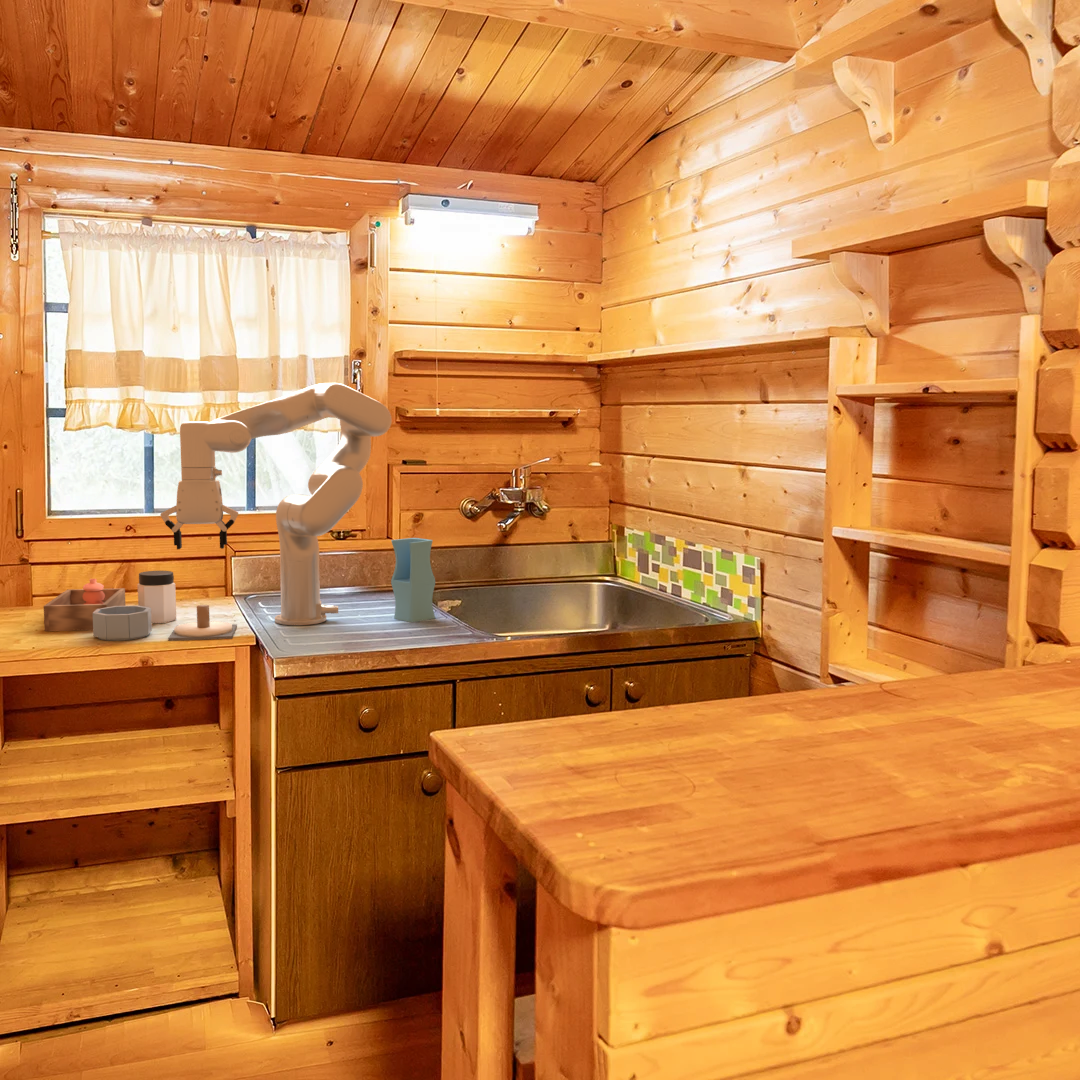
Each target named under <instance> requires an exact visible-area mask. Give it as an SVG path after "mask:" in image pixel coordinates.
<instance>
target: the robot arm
mask: <svg viewBox="0 0 1080 1080" xmlns="http://www.w3.org/2000/svg"><path fill="white" fill-rule="evenodd" d="M327 418H328V419H329V418H335V419H338V420H339V426H340V431H341V432H340V441H339V443H338V445H337V446H336V447H335V449H334V450H333V451H332V452H331V453H330V454H329V456H327V457H326V459H325V460H323V462H322V463H320V465H319V466H318V467H317V468H316V469H315V470H314V471H313V472H312V474H311V475H310V477H309V479H308V484H307V487H308V491H309V493H310V494H311V495H307V494H297V493H296V494H295V493H294V494H289V495H287V496H285V497H283V499H282V500H280V502H279V503H278V505H277V508H276V509H275V510H276V511H275V521H276V527H277V534H278V539H279V540H278V541H279V542H278V543H279V573H280V575H279V579H280V580H279V582H280V614H278V615H275V617H274V622H275V623H276V624H279V625H286V626H309V625H317V624H320V623H324V622H326V620H327V615H326V614H331V615H332V614H339V605H331V604H329V605H326V604H322V600H321V594H320V593H321V591H320V585H321V583H320V581H321V580H320V579H321V578H320V576H321V575H320V546H319V540H318V537H320V536H323V535H325V534H326V533H327V534H328V532H330V531H331V530H332V529H333V528H334V527H335V526H336V525H337V524H338V523H339V521H341V519H342V518H343V517H344V516H345V515H346V514H347V513H348V512H349V511H350V509H352V508H353V506H354V505H355V504H356V503H357V501H358V500H359V498H360V497H361V495H362V492H363V488H364V487H363V486H364V483H363V478H362V475H361V474H360V473H361V472H362V471H363V470H364V468H365V467H366V465H367V464H368V462H369V460H370V457H371V452H372V450H371V449H372V439H371V438H373V437H380V436H383V435H385V434H386V433H387V432H388V431H389V430H390V428H391V426H392V423H393V422H392V414H391V412H390V410H389V408H388V407H387V406H386V405H385V404H384V403H381V402H380V401H378V400H376V399H374V398H372V397H370V396H368V395H366V394H364V393H362V392H360V391H358V390H356V389H354V388H352V387H350V386H347V385H345V384H343V383H338V382H323V383H317V384H314V385H310V386H307V387H304V388H303V389H300V390H297V391H294V392H291V393H290V394H287V395H284V396H281V397H278V398H275V399H271V400H269V401H265V402H261V403H259V404H257V405H253V406H251V407H247V408H243V409H241V410H238V411H235V412H232V413H229V414H226V415H224V416H220V417H218V418H215V419H213V420H212V421H206V420H205V421H201V420H200V421H199V420H196V421H195V420H192V421H191V420H190V421H183V422H182V423H181V424H180V426H179V439H180V440H179V442H180V445H179V446H180V471H181V480H179V481H178V482H177V483H178V484H177V492H176V505H174V506H172V507H170V508H168V509H167V510H164V511H162V512H161V513H160V517H161V519H162V520H163V522H164V525H166V527H168V529H169V530H171V531H172V532H173V546H176V550H180V549H182V548H183V545H182V543H183V542H182V531H181V528H182V526H183V525H210V524H211V525H212V524H216V526H217V527H218V528H219V529H220V531H219V533H218V534H219V549H221V550H223V549H224V548H225V546H227V544H228V535H227V534H228V533H227V531H228V530H229V528H231V527H232V525H234V524H235V521H236V519H237V518H238V515H239V511H237V510H234V509H233V508H230V507H229V506H227V505H224V503H223V494H222V488H221V483H220V480H218V479H216V478H217V477H219V476H223V471H222V469H217V468H216V452H224V453H232V454H234V453H240V452H242V451H244V450H246V449H247V448H248V447H249V445H250V443H251V441H252V440H253V439H257V438H260V437H261V438H263V437H268V436H270V437H271V436H279V435H283V434H288V433H291V432H293V431H296V430H299V429H300V428H303V427H306V426H308V425H310V424H312V423H316V422H318V421H321V420H325V419H327ZM174 513H176V514H175V515H176V521H177V522H176V523H174V522H173V521H172V520H171V519H170V515H172V514H174ZM224 513H226V514H228V515H230V518H229V520H228V521H227V522H224V520H223V518H224Z"/></svg>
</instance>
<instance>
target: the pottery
mask: <svg viewBox="0 0 1080 1080" xmlns="http://www.w3.org/2000/svg"><path fill="white" fill-rule="evenodd" d="M104 587H105V586H104V584H102V583H100V582H97V578H89V582H88V583H85V584H84V585H83V586H82V589H84V591H86V592H84V594H83V596H82V597H83V600H84V601H86V603H84V604H103V603H104V602H102V600H103V599H104V598H105V594H104V592H103V591H101V590H103V589H105V588H104ZM84 604H83V605H84Z"/></svg>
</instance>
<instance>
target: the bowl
mask: <svg viewBox="0 0 1080 1080" xmlns="http://www.w3.org/2000/svg"><path fill="white" fill-rule="evenodd" d="M152 624H153V623H152V622H151V608H150V607H144V606H138V604H137V605H136V604H135V605H125V606H112V607H106V608H100V609H96V610H95V611H94V612H93V630H92V632H93V633H92V634H93V637H95V638H98V640H103V641H109V642H110V641H114V642H115V641H116V642H120V641H122V642H123V641H133V640H138V639H143V638H146V637H148V636H149V634H151V632H152V631H153V628H152V627H153V625H152Z"/></svg>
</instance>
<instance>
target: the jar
mask: <svg viewBox="0 0 1080 1080" xmlns="http://www.w3.org/2000/svg"><path fill="white" fill-rule="evenodd" d="M174 577H175V576H174V572H173V571H171V570H147V571H142V572H139V573H138V583H137V601H138V602H137V605H138V606H144V607H150V608H151V622H152V624H166V623H170V622H174V621H177V599H176V598H177V595H176V593H177V592H176V583H175V581H174V580H175V578H174Z"/></svg>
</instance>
